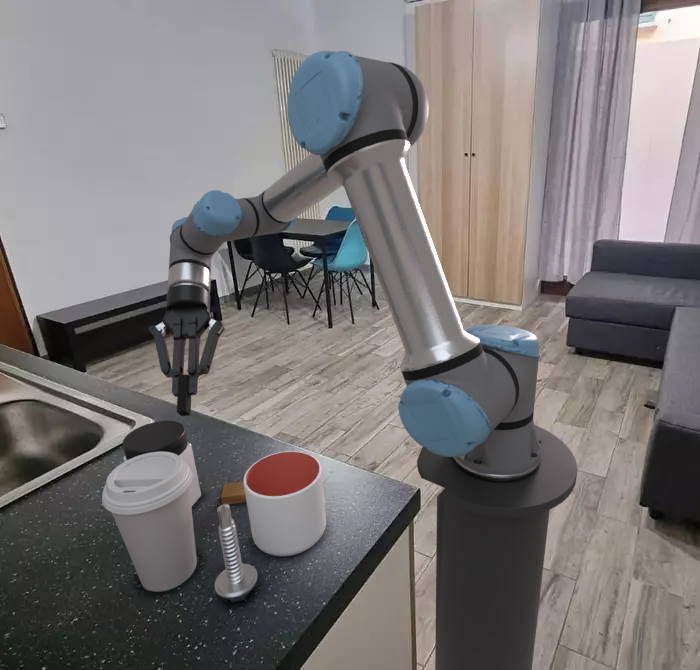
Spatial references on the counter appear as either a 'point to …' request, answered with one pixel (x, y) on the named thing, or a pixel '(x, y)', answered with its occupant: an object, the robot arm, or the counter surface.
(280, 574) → the counter surface
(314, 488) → the cup
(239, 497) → the brown wooden bar
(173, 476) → the coffee cup
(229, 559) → the screw
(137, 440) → the jar
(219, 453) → the counter surface
